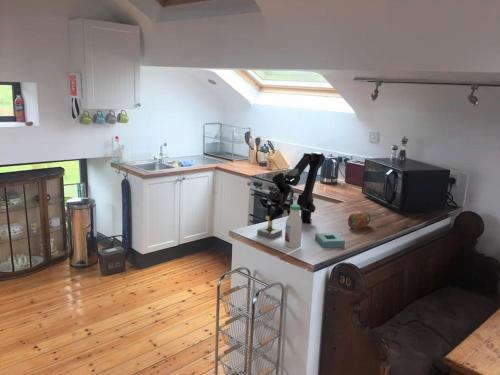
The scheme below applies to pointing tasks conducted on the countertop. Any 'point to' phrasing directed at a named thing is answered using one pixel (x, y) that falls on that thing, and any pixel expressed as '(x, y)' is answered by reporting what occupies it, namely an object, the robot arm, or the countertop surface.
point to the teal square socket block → (329, 240)
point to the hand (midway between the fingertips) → (268, 219)
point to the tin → (359, 220)
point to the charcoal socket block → (268, 234)
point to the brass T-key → (269, 222)
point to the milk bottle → (293, 228)
